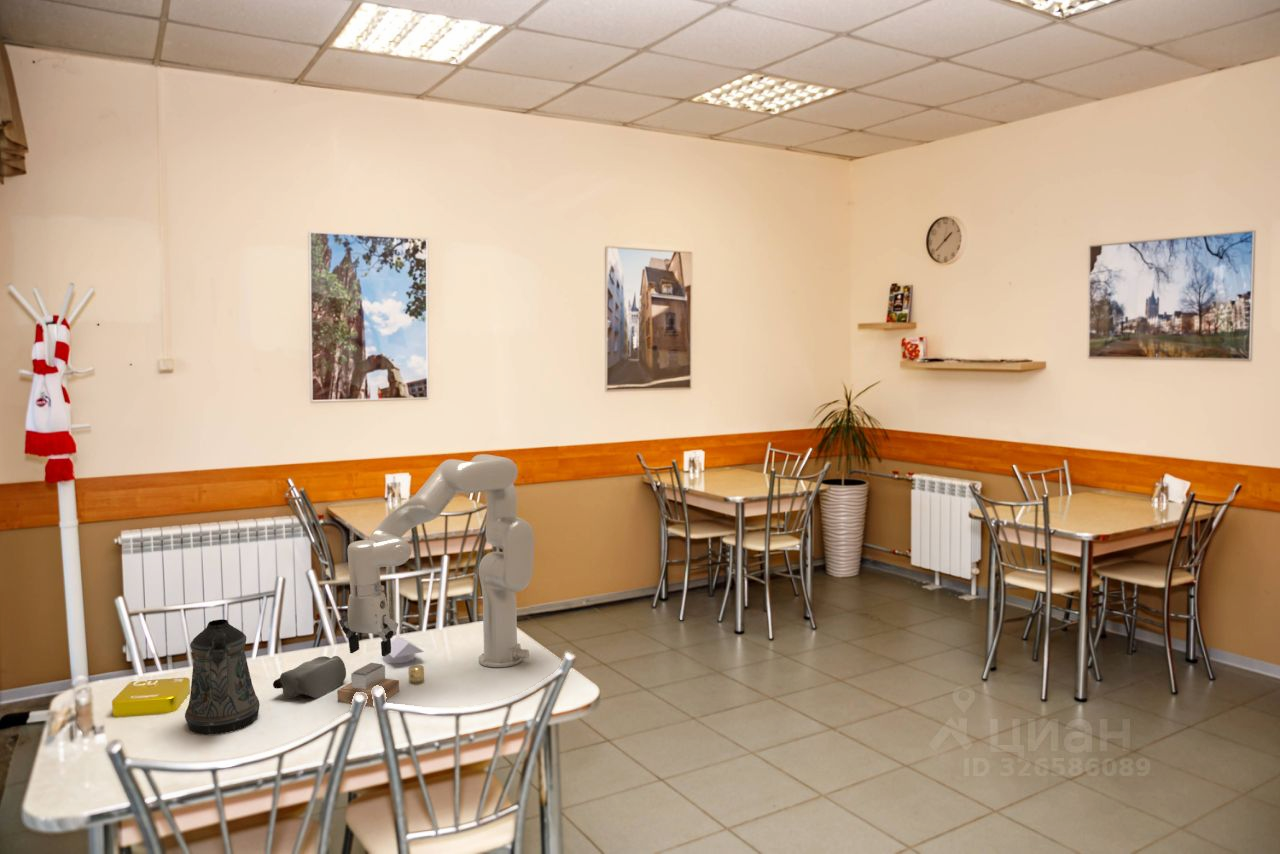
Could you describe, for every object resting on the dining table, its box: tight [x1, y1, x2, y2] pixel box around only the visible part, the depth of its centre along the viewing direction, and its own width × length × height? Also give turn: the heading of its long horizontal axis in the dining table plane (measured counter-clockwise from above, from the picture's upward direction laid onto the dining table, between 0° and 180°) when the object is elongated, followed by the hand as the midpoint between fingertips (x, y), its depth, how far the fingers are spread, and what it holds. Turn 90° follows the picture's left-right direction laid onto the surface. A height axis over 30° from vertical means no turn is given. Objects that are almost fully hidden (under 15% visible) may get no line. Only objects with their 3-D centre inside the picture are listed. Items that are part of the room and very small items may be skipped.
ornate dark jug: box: [184, 619, 261, 736], centre depth 223 cm, size 16×19×25 cm
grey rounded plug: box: [272, 655, 347, 699], centre depth 245 cm, size 18×11×8 cm, turn 159°
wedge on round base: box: [382, 635, 425, 664], centre depth 268 cm, size 9×7×13 cm
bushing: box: [408, 664, 425, 686], centre depth 250 cm, size 4×4×4 cm
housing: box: [350, 662, 386, 691], centre depth 240 cm, size 8×4×4 cm, turn 159°
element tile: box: [111, 677, 191, 718], centre depth 237 cm, size 15×15×5 cm
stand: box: [337, 678, 400, 708], centre depth 240 cm, size 11×11×3 cm
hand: (370, 653), depth 240 cm, fingers open, 9 cm apart
